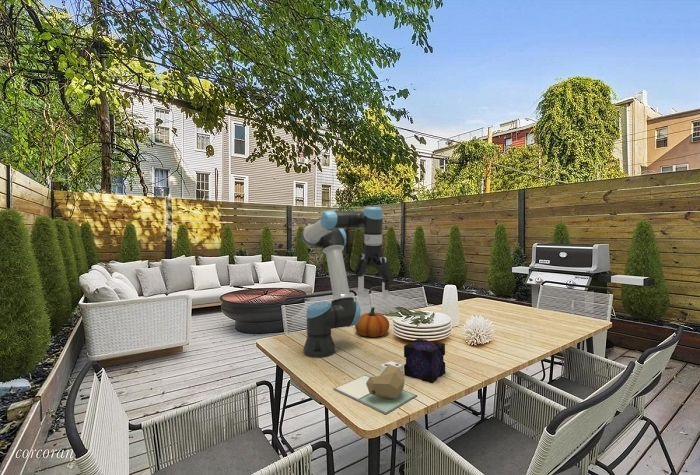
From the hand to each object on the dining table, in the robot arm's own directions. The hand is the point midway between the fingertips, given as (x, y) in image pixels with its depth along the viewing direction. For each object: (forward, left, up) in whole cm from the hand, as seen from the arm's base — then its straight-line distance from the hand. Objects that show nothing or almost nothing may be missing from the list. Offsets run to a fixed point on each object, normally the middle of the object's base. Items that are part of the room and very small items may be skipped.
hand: (372, 294), depth 145 cm
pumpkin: (-33, +35, -32) cm, 57 cm away
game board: (+15, -17, -31) cm, 39 cm away
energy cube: (+19, +9, -32) cm, 38 cm away
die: (+13, -4, -31) cm, 34 cm away
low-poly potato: (+21, -17, -31) cm, 41 cm away
